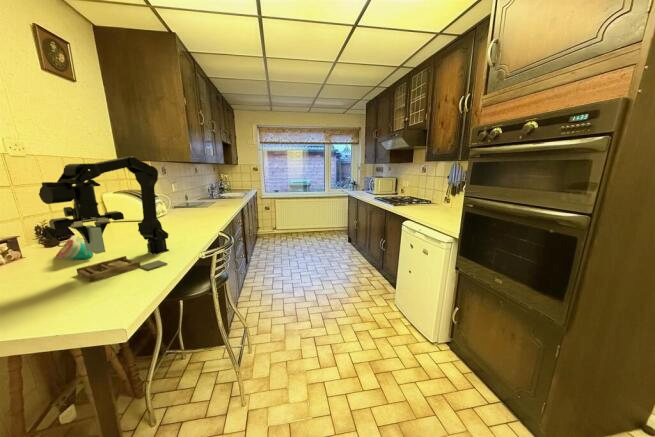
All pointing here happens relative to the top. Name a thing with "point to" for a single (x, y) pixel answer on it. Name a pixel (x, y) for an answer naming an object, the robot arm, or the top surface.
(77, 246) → the athletic shoe
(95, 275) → the rack
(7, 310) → the top surface
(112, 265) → the offcut stack
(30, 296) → the top surface
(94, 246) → the grey square block
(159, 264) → the rubber mat
